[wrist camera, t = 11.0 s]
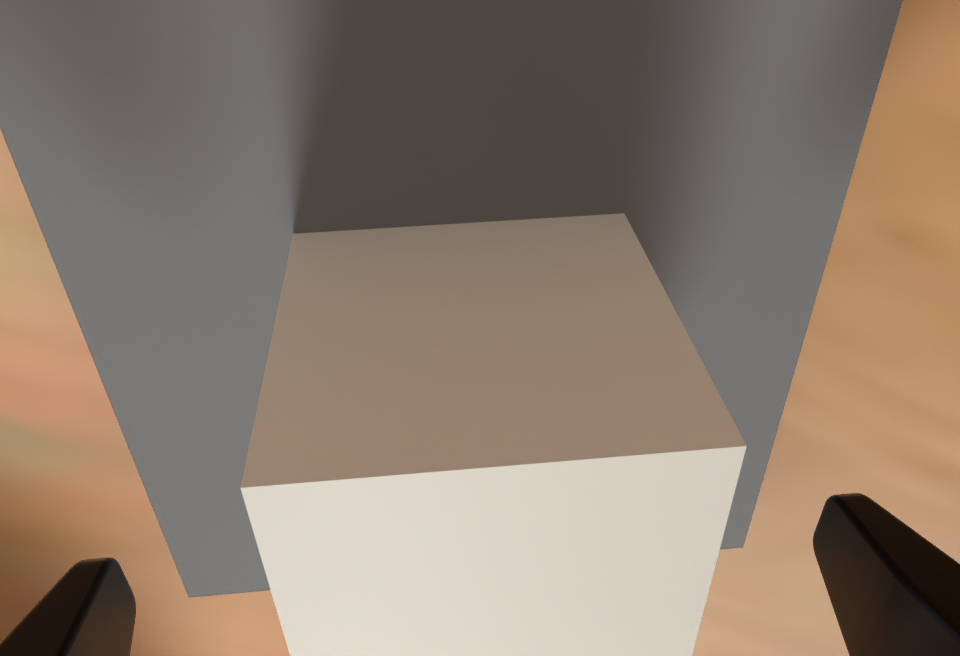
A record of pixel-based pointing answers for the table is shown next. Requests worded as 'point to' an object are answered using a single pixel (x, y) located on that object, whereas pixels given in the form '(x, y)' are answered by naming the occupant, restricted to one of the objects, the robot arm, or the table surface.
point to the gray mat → (418, 184)
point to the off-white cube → (486, 446)
